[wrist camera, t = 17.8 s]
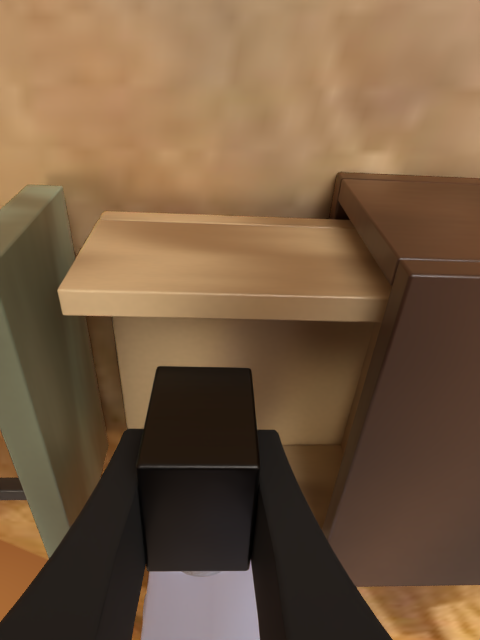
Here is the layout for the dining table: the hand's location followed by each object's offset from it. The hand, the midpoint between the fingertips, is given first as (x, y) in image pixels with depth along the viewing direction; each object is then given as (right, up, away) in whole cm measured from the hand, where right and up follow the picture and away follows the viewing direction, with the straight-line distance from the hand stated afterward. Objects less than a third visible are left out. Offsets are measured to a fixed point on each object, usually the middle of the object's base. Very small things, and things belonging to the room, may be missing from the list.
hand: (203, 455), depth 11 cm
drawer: (-3, +2, +8) cm, 9 cm away
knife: (0, -2, +2) cm, 3 cm away
